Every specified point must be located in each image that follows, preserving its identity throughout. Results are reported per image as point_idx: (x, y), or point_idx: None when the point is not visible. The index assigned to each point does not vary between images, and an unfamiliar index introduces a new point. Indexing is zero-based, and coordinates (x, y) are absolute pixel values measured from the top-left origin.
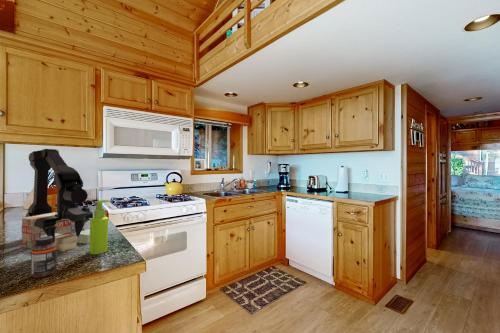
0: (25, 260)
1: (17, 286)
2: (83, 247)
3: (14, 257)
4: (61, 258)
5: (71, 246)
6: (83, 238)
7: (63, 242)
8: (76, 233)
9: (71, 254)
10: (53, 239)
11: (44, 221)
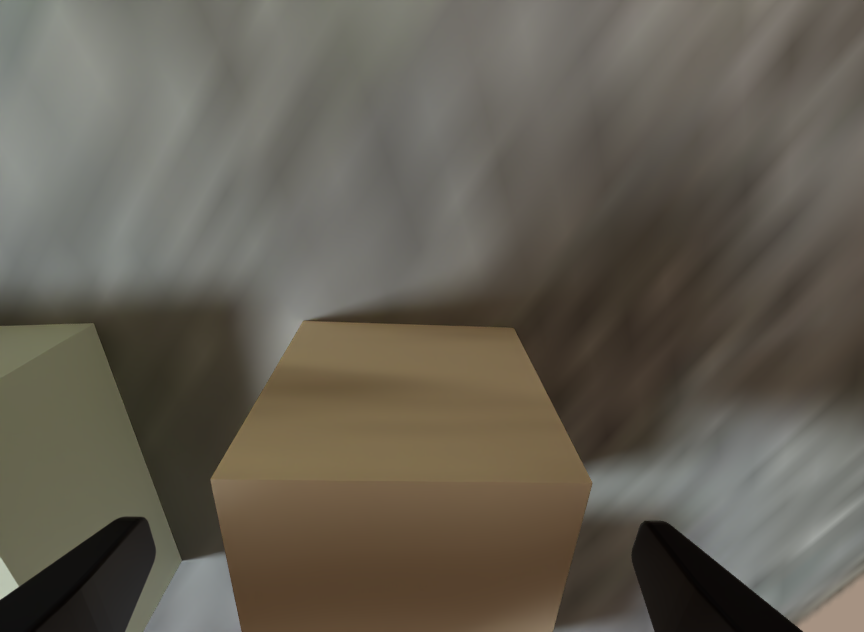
0: (858, 437)
1: None
2: (246, 204)
3: (763, 595)
4: (805, 18)
5: (384, 343)
6: (63, 467)
7: (556, 421)
8: (111, 625)
9: (597, 43)
10: (739, 593)
11: None
